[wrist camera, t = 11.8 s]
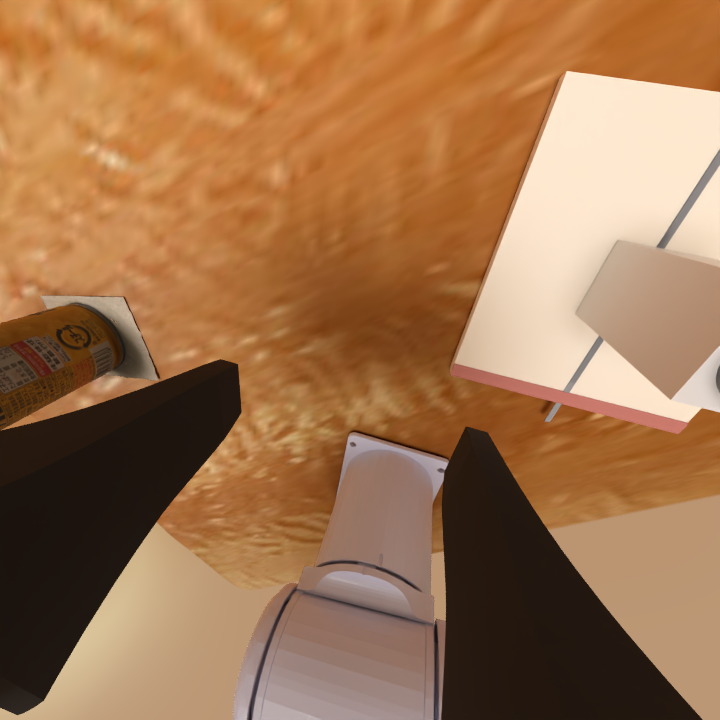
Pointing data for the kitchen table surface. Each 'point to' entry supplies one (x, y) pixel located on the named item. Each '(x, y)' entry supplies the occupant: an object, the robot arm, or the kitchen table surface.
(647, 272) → the white bottle
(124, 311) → the condiment
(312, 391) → the kitchen table surface
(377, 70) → the kitchen table surface
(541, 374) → the notepad
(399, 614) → the robot arm
